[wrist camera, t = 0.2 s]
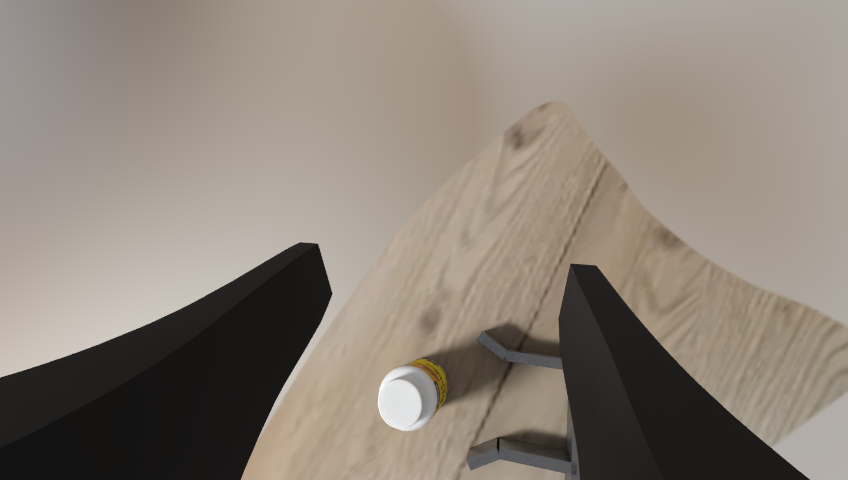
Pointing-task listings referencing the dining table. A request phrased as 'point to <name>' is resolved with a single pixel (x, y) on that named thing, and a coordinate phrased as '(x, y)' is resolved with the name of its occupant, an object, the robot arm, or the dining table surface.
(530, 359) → the stop cradle
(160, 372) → the robot arm
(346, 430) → the dining table surface
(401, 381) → the supplement bottle
